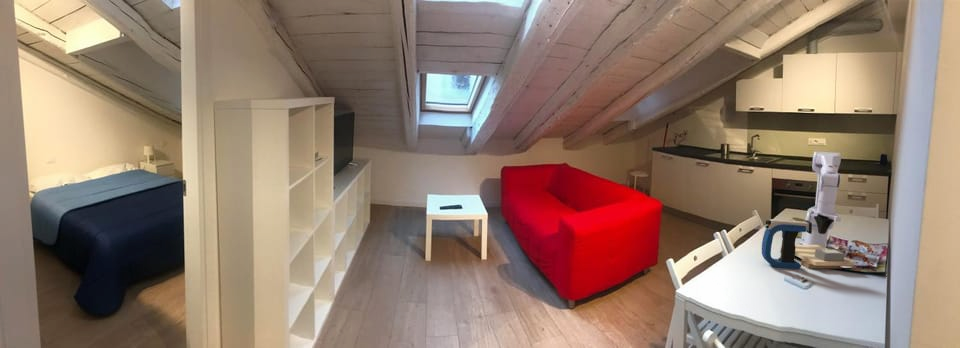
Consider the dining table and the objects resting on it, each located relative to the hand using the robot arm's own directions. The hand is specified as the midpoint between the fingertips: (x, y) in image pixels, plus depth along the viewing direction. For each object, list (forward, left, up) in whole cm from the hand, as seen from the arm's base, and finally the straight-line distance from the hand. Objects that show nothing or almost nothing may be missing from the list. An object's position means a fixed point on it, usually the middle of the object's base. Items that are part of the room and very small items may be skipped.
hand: (821, 233), depth 192 cm
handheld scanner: (+11, -23, -11) cm, 27 cm away
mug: (-27, +13, -11) cm, 32 cm away
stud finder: (+11, -5, -7) cm, 14 cm away
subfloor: (+5, -5, -10) cm, 12 cm away
